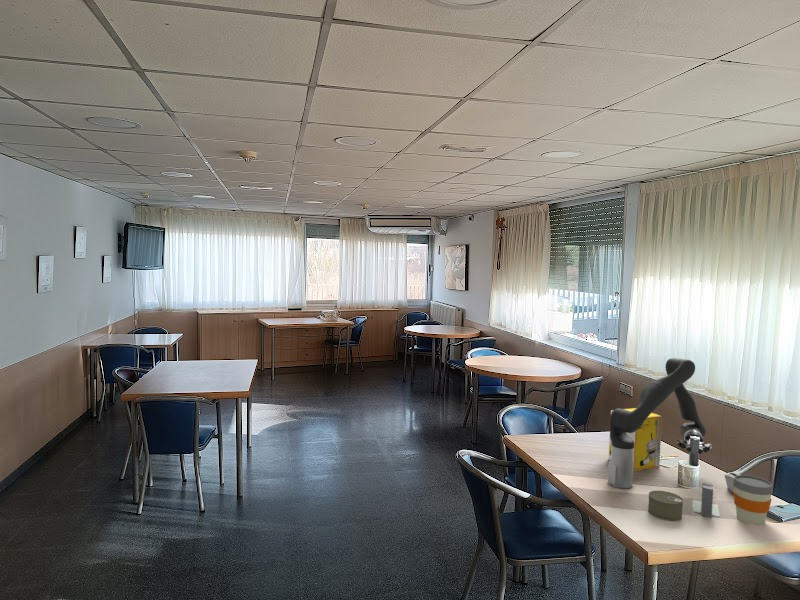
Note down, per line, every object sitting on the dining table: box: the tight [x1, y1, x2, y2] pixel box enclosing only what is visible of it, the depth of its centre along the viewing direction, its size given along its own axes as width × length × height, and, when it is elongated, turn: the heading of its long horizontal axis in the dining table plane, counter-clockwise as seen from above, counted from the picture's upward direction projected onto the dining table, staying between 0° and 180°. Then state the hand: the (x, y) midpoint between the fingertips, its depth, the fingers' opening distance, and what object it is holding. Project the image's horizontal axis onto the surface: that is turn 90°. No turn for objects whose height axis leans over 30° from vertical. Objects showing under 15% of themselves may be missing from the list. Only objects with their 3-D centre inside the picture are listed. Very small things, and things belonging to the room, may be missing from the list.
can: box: [647, 490, 684, 522], centre depth 203 cm, size 12×12×7 cm
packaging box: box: [608, 407, 663, 472], centre depth 258 cm, size 16×16×25 cm
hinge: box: [724, 471, 741, 492], centre depth 222 cm, size 17×5×10 cm, turn 178°
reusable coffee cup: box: [733, 474, 774, 526], centre depth 200 cm, size 13×13×15 cm
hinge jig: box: [691, 482, 721, 519], centre depth 208 cm, size 14×9×11 cm, turn 152°
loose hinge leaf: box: [688, 436, 700, 467], centre depth 222 cm, size 3×6×11 cm, turn 152°
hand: (694, 450), depth 220 cm, fingers closed on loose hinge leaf, 3 cm apart
